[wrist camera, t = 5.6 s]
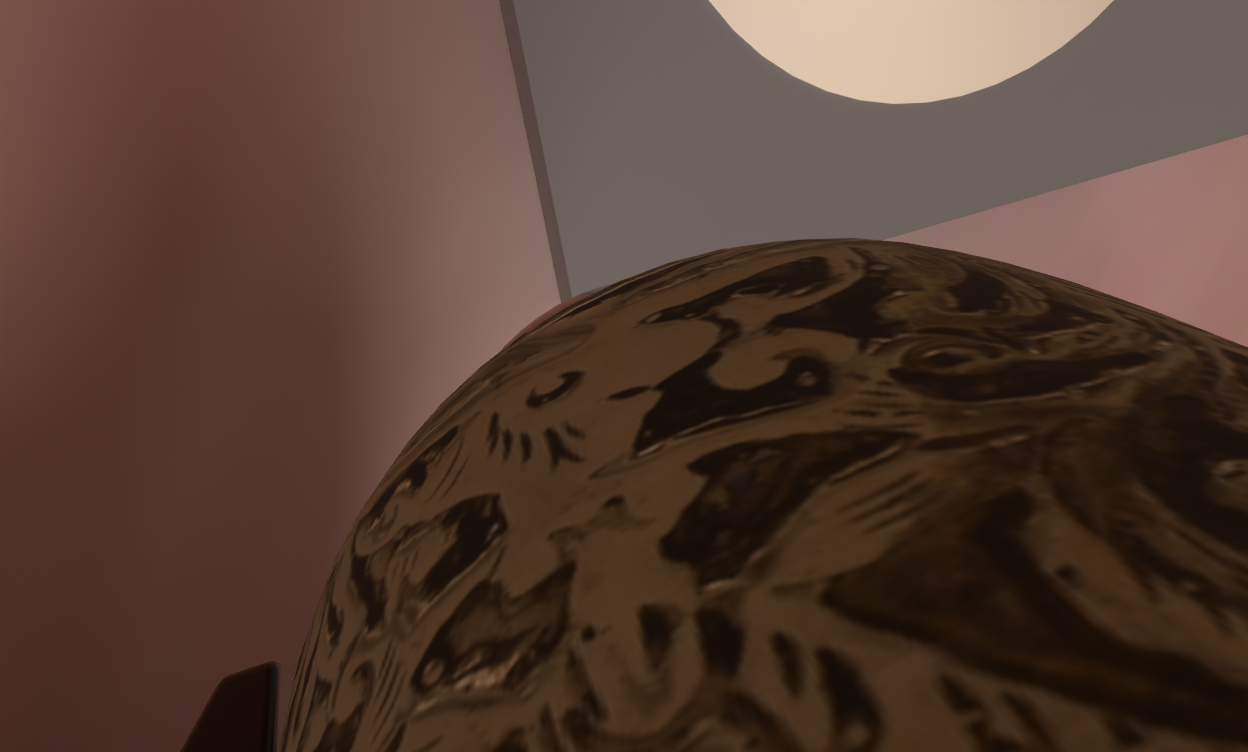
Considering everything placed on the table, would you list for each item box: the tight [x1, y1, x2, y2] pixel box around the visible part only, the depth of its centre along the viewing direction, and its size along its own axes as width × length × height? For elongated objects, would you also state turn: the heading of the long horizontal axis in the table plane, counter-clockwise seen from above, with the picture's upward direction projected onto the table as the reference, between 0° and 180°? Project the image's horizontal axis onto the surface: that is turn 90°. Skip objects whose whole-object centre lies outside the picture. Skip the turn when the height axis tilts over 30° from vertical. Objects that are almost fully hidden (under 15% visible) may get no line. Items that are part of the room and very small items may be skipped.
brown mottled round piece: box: [278, 238, 1248, 752], centre depth 7 cm, size 8×7×8 cm
